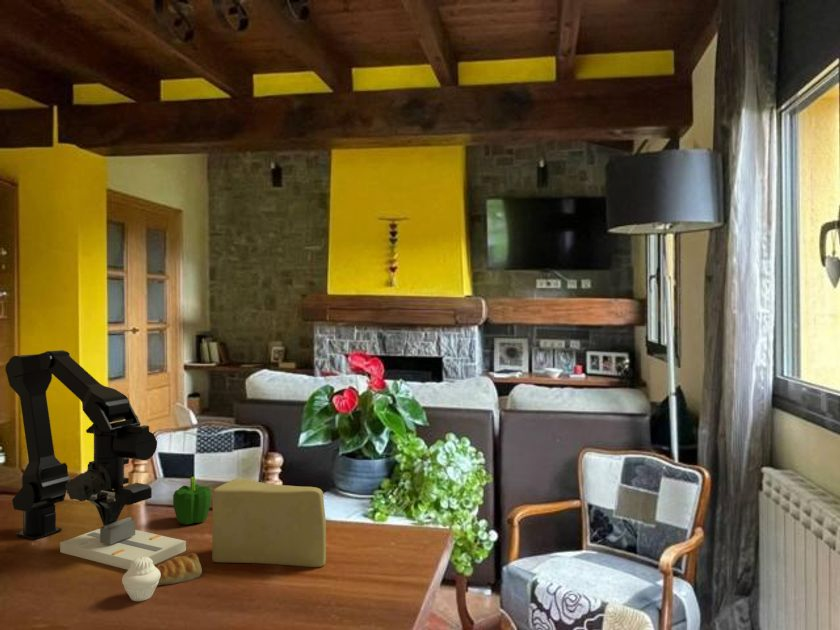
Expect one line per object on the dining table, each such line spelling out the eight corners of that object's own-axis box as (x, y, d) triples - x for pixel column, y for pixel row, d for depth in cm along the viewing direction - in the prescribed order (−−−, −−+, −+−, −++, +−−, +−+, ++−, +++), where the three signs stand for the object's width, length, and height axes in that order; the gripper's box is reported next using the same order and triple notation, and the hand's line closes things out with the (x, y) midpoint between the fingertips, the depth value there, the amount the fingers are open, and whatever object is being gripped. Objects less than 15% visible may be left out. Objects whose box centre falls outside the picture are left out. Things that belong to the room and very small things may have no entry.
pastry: (153, 592, 112) (153, 570, 112) (140, 580, 117) (140, 559, 117) (204, 578, 118) (204, 557, 118) (190, 566, 124) (190, 547, 123)
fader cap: (100, 542, 129) (100, 524, 129) (125, 532, 134) (125, 516, 134) (110, 544, 127) (110, 527, 127) (135, 535, 133) (135, 518, 133)
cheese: (334, 557, 129) (334, 483, 128) (314, 576, 119) (315, 496, 119) (235, 545, 134) (236, 475, 134) (209, 563, 125) (210, 487, 124)
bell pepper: (203, 528, 144) (204, 484, 144) (167, 527, 144) (168, 483, 144) (216, 516, 153) (216, 474, 153) (182, 515, 153) (182, 474, 153)
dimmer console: (60, 552, 129) (60, 541, 129) (111, 533, 140) (111, 523, 140) (137, 572, 120) (137, 560, 120) (185, 550, 131) (185, 540, 131)
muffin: (132, 588, 113) (132, 549, 113) (166, 589, 113) (166, 550, 113) (114, 605, 107) (115, 563, 107) (150, 606, 107) (151, 564, 107)
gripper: (42, 458, 128) (42, 535, 129) (106, 469, 120) (106, 551, 121) (91, 448, 138) (91, 519, 139) (153, 457, 131) (153, 532, 131)
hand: (108, 530), depth 132 cm, fingers closed
